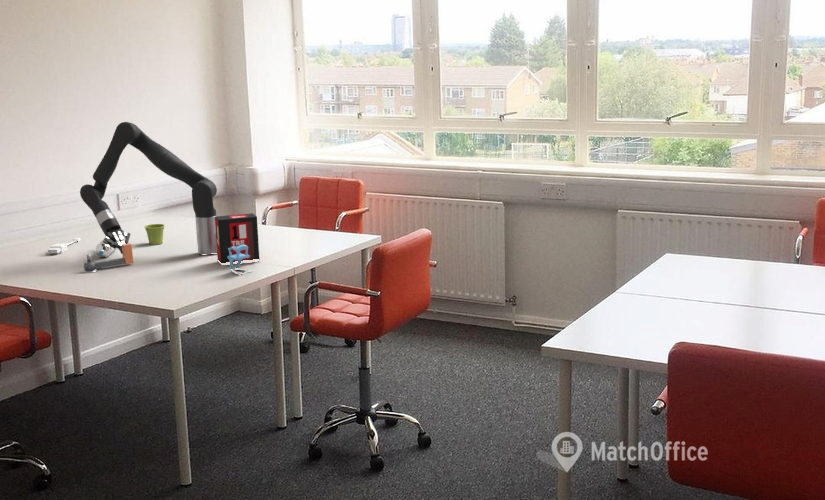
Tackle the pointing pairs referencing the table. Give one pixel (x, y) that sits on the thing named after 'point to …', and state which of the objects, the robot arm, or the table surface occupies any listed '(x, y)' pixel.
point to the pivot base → (89, 262)
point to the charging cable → (61, 247)
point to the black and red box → (236, 235)
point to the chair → (237, 255)
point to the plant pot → (155, 233)
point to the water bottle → (103, 249)
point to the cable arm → (125, 260)
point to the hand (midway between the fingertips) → (125, 253)
